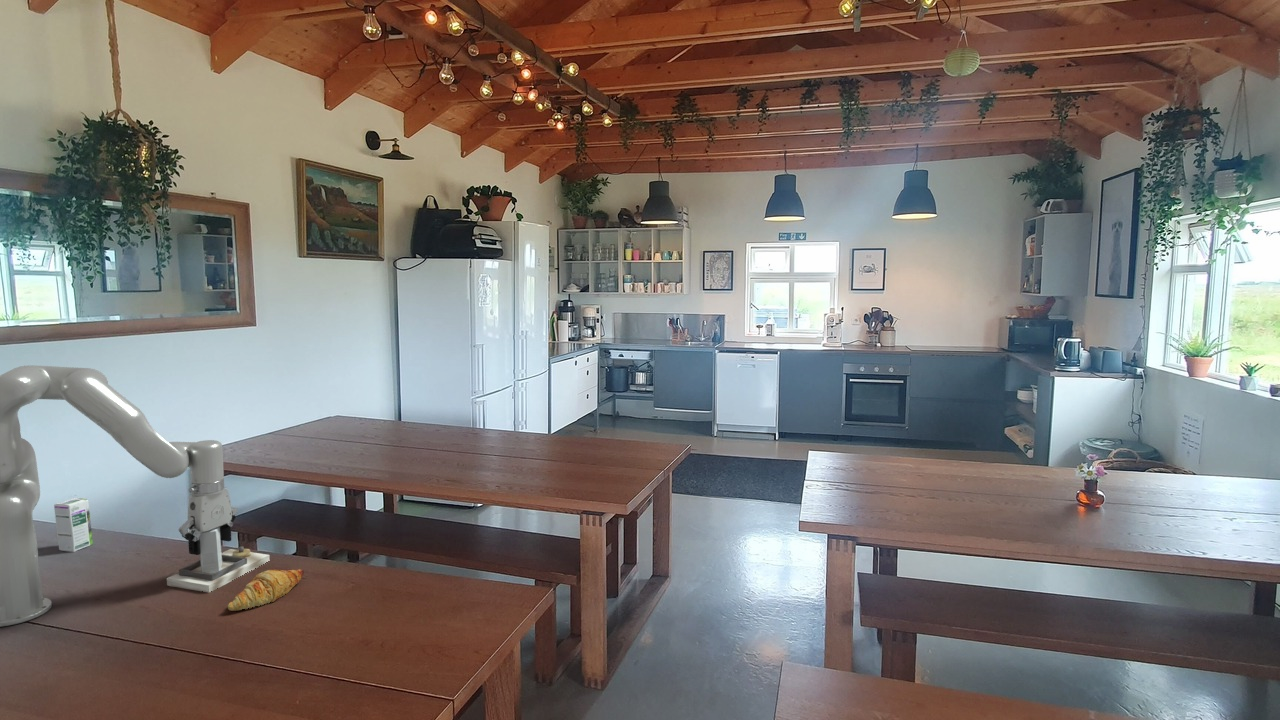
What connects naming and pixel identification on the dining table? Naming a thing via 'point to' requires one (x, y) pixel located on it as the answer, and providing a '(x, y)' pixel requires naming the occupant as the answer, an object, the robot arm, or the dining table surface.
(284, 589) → the croissant
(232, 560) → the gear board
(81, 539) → the syrup box
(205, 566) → the skincare box
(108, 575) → the dining table surface
